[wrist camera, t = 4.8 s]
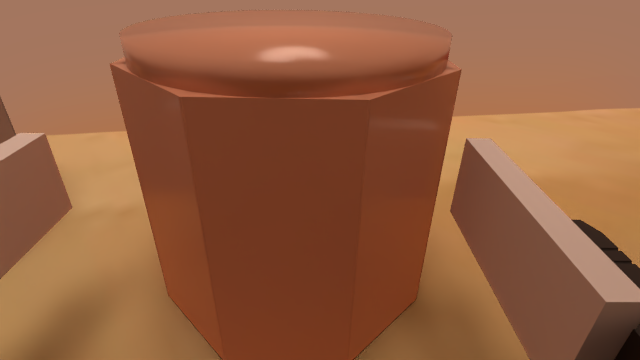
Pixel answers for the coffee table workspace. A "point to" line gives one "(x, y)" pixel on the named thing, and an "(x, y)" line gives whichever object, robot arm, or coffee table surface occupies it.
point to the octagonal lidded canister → (288, 170)
